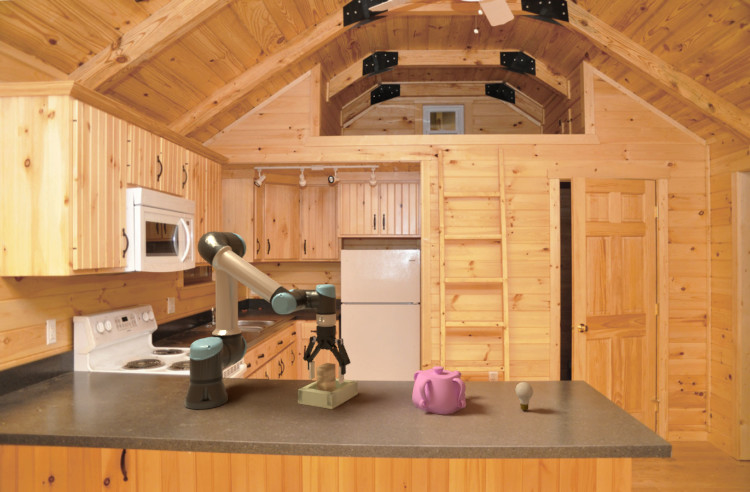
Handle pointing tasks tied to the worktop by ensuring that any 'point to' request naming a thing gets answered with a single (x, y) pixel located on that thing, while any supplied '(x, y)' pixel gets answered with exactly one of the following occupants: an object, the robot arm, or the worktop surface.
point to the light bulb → (524, 394)
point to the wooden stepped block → (326, 377)
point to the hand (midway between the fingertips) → (326, 380)
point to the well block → (327, 394)
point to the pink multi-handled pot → (439, 391)
